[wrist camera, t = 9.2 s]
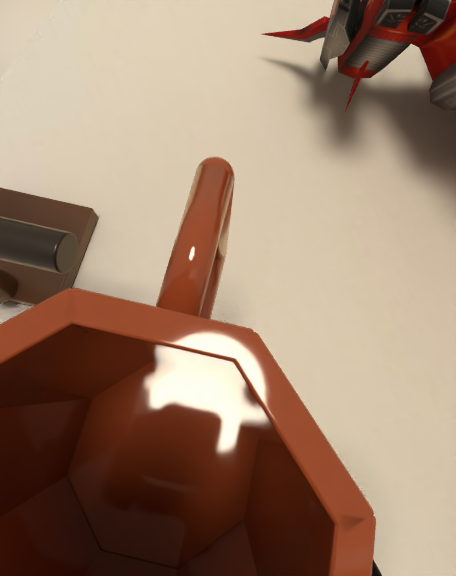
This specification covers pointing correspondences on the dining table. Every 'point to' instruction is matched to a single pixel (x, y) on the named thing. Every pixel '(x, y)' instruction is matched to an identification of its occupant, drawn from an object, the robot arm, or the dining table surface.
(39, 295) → the mug rack
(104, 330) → the mug
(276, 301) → the dining table surface
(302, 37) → the toy spacecraft
